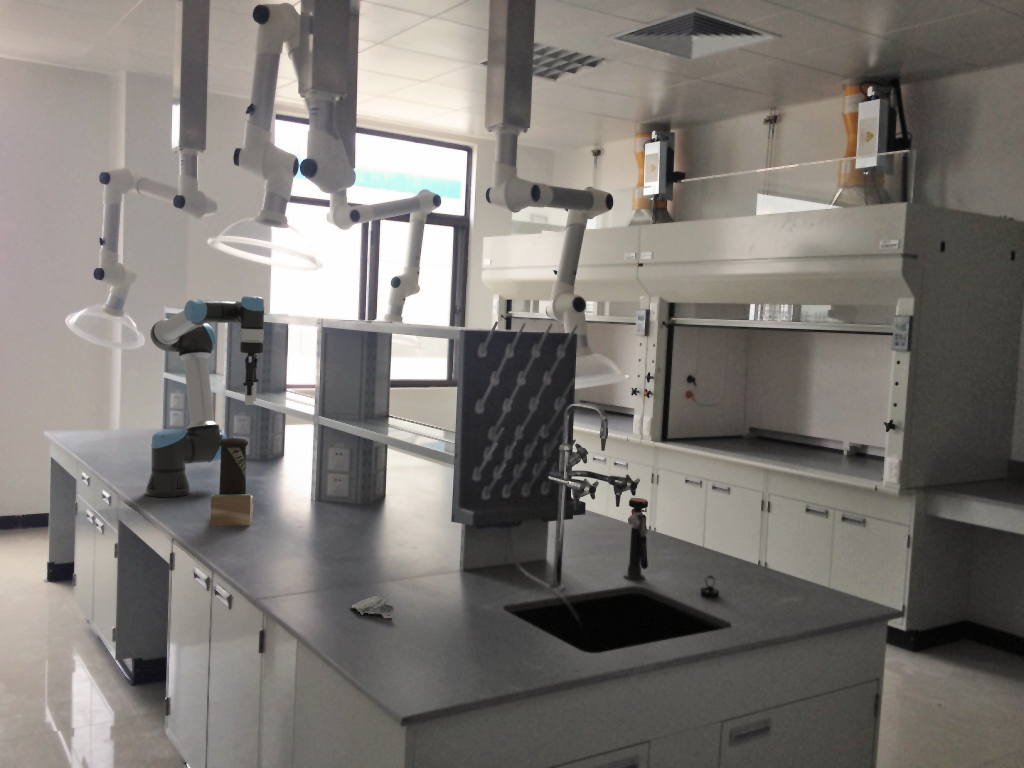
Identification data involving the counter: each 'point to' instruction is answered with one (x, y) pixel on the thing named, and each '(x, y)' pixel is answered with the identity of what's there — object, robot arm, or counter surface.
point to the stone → (374, 606)
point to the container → (233, 466)
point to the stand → (231, 509)
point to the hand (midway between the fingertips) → (250, 402)
